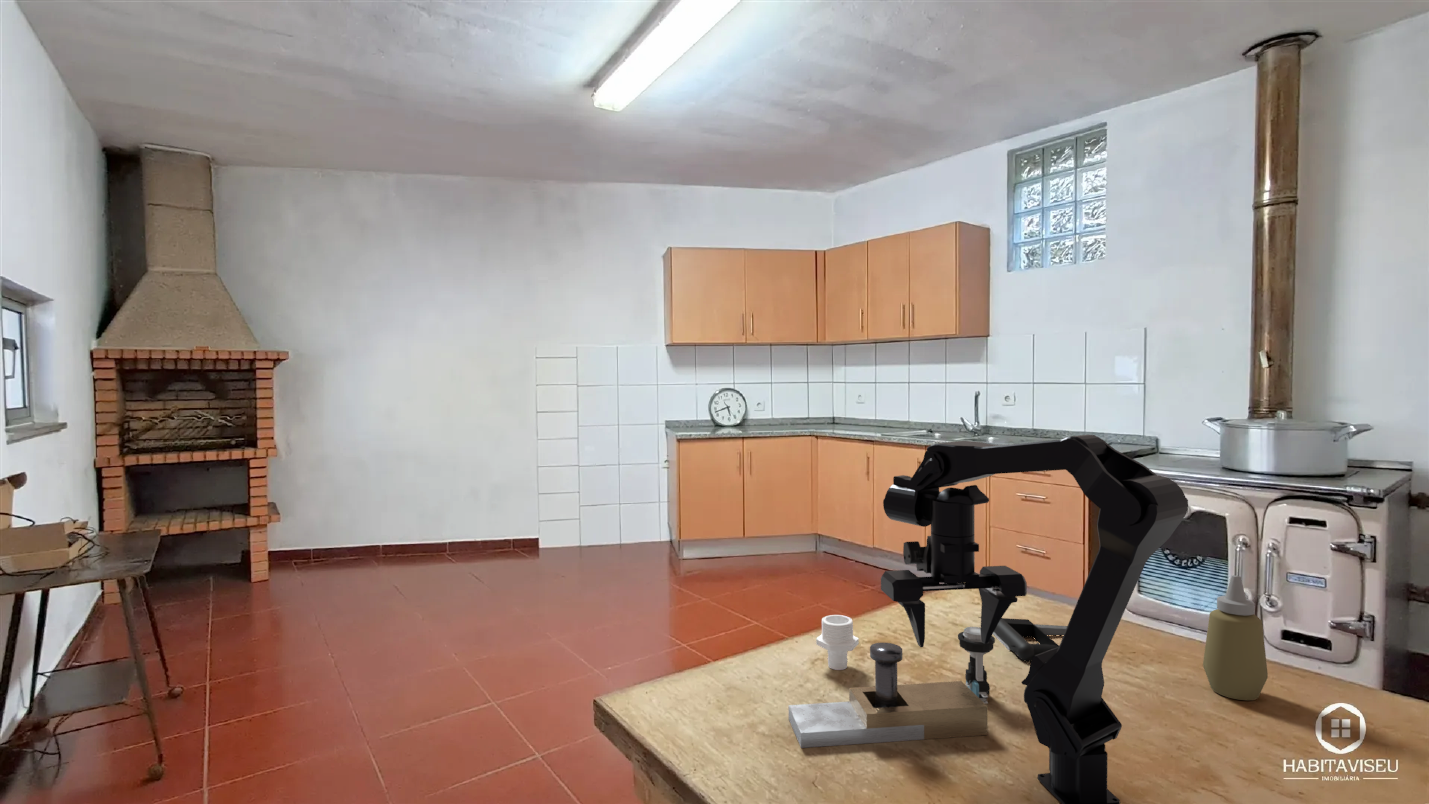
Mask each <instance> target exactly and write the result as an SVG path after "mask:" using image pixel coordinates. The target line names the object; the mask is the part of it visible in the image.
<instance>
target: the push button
mask: <svg viewBox="0 0 1429 804" xmlns="http://www.w3.org/2000/svg"><path fill="white" fill-rule="evenodd" d="M957 640H959V643H958V645H959V646H960V648H961V649H963V650H964V651H965V652H967V653H969V662H968V663H967V669H965V677H964V679H965V683H964V684H965V685H966V686H967V687H968V688H969V689H970V690H971V691H972V692H973V693H974V694H975V695H976V696H977V697H979V698H980V699H981V700H982V701H983V702H984V703H985V704H986V705H987V704H989V702H988V698H989V696H988V695H990V691H991V690H990V683H989V682H988V672H987V670H985V665H984V655H986V654H988V653H990V652H991V651H992V650H994V644H995V642H996V637H995V636H994V635H992V636H991V638H990V640H989V642H988V643H987V644H984V643H983V642H982V640H981V626H980V627H979V626H967V627H965V628H964V629H963V631H960V632H959V633H958V634H957Z"/></svg>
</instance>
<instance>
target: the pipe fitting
mask: <svg viewBox="0 0 1429 804" xmlns="http://www.w3.org/2000/svg"><path fill="white" fill-rule="evenodd" d="M815 640H816V641H815V644H816V646H819V647H821V648H823V649H824V650H827V665H828V668H830V669H832V670H836V671H843V670H845V669H847V668H848V660H849V659H848V652H853V650H854V649H856V647H857V646H858V645H859V643H860V642H859V641H860V640H859V637H857V636H855V635H854V622H853V619H852V617H849V616H846V615H842V614H829V615H826V616H823V617H822V618H821V634H820V635H818V636H817V637H816V639H815Z"/></svg>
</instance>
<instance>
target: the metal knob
mask: <svg viewBox="0 0 1429 804" xmlns="http://www.w3.org/2000/svg"><path fill="white" fill-rule="evenodd" d="M869 656H870V659H872V660H873V661H875V662H874V665H875V667H874V668H875V671H874V672H875V674H874V678H875V682H874V684H875V708H884V707H897V685H898V663H900V662H902V660H903V648H902V647H901V646H900V645H898V644H895V643H892V642H876V643H872V644H871V645H870V646H869Z"/></svg>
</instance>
